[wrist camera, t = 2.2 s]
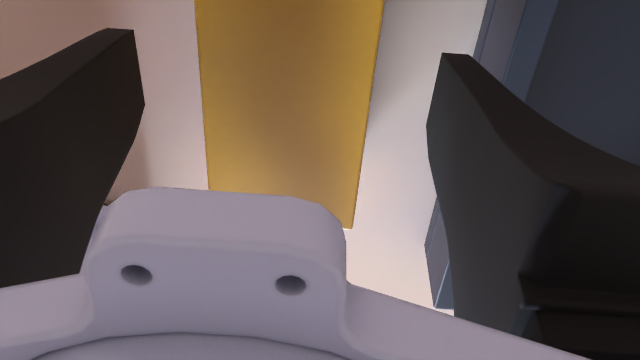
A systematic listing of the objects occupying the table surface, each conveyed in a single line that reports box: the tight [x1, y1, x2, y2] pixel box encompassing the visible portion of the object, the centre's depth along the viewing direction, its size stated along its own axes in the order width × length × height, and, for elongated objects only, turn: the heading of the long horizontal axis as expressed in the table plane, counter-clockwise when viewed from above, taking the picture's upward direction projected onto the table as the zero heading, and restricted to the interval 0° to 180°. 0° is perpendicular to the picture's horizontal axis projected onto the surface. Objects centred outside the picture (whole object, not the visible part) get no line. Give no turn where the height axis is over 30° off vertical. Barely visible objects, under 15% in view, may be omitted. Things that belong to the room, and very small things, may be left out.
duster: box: [194, 0, 385, 230], centre depth 16 cm, size 5×11×5 cm, turn 176°
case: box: [424, 0, 640, 310], centre depth 18 cm, size 10×17×3 cm, turn 176°
